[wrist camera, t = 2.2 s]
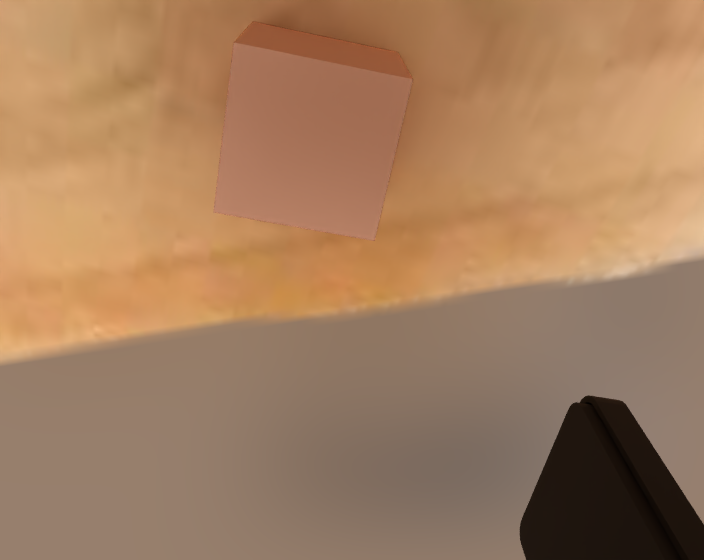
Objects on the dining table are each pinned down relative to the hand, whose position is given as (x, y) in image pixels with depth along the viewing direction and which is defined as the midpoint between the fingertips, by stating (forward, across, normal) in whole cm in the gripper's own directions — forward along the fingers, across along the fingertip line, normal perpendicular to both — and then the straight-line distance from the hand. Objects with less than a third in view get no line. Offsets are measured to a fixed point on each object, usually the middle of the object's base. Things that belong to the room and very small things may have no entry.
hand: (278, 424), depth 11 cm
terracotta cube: (+20, 0, -1) cm, 21 cm away
